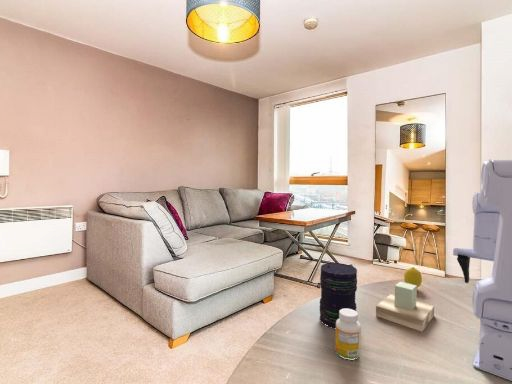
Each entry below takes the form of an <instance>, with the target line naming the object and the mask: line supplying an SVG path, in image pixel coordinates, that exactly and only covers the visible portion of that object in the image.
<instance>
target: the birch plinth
mask: <svg viewBox="0 0 512 384" xmlns="http://www.w3.org/2000/svg"><path fill="white" fill-rule="evenodd" d="M394 301H395V294H393V293H390V294H388V296H386V297H385V298H384V299H383V300H381V301H380V302H379V303H378V304H377V305H376V306H375V316H376V317H378V318H382V319H384V320H387V321H390V322H392V323H395V324H399V325H401V326H404V327H407V328H409V329H413V330H415V331H418V332H421V333H423V332H424V330H425V329H426V328H427V326H428V325H429V324H430V322H431V321H432V319H433V318H434V316H435V305H433V304H428V303H425V302H421V301H417V300H416V307H415V308H414V309H413V310H412V311H410V310H406V309H403V308H400V307H397V306H394Z"/></svg>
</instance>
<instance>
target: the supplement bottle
mask: <svg viewBox="0 0 512 384" xmlns="http://www.w3.org/2000/svg"><path fill="white" fill-rule="evenodd" d="M358 319H359V314H358V312H357V310H356V311H355V310H352V309H348V308H344V309H341V310H340V311H339V319H337V321H336V329H335V338H334V339H335V343H334V344H335V345H334V347H335V348H334V349H335V350H336V352H337V354H339V355H340V356H342V357H344V358H349V359H354V358H355V359H356V358H358V357H359V356H361V337H362V335H361V332H362V330H361V328H362V327H361V323H360V322H359V320H358ZM336 352H335V353H336ZM337 354H336V355H337ZM359 358H360V357H359ZM359 358H358V359H359Z"/></svg>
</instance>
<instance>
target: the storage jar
mask: <svg viewBox="0 0 512 384" xmlns="http://www.w3.org/2000/svg"><path fill="white" fill-rule="evenodd" d="M357 277H358V269H357V268H356V267H354V266H353V265H350V264H346V263H338V262H337V263H336V262H331V263H330V262H329V263H328V262H327V263H324V264H321V266H320V275H319V280H320V281H319V286H320V289H321V291H320V293H321V294H320V299H319V315H320V316H319V321H320V320H321V321H322V322H323V323H324V324H326V325H328V326H329V327H332V328H336V321H337V319H339V311H340V310H341V309H344V308H348V309H352V310H355V311H356V312H357V309H358V307H357V303H356V292H357V289H358V286H357V285H358V278H357ZM321 321H320V322H321ZM324 324H323V325H324ZM329 327H328V328H329ZM332 328H331V329H332Z"/></svg>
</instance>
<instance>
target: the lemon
mask: <svg viewBox="0 0 512 384" xmlns="http://www.w3.org/2000/svg"><path fill="white" fill-rule="evenodd" d="M403 279H404V283H408V284H413V285H417V288H419V287H420V286H421V284H422V281H423V277H422V274H421V271H419V269H417V268H415V267H413V266H412V267H410V268H408V269H407V270H405V272H404V278H403Z"/></svg>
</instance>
